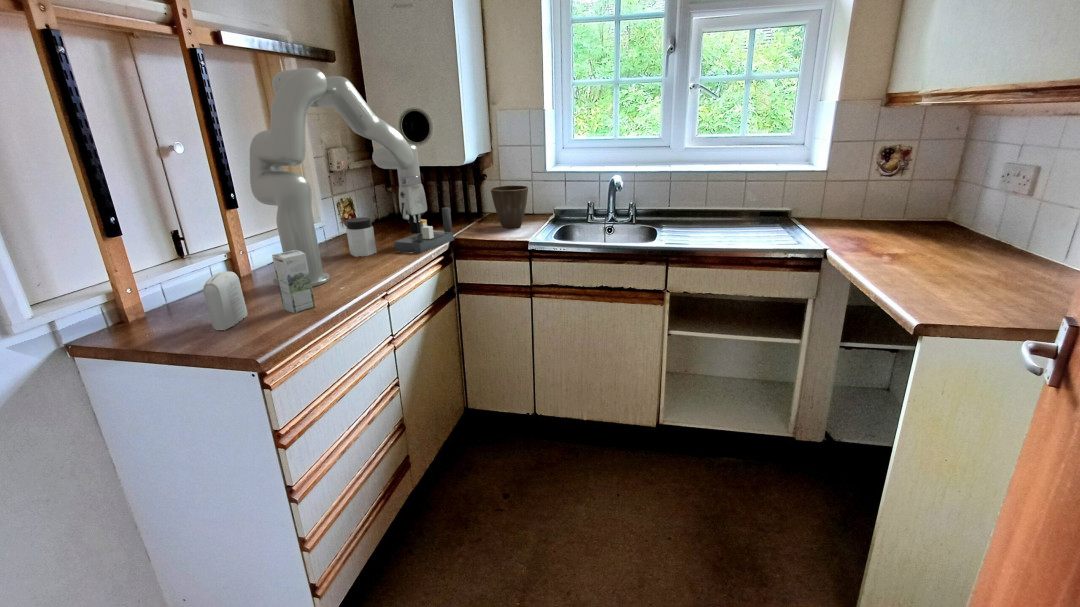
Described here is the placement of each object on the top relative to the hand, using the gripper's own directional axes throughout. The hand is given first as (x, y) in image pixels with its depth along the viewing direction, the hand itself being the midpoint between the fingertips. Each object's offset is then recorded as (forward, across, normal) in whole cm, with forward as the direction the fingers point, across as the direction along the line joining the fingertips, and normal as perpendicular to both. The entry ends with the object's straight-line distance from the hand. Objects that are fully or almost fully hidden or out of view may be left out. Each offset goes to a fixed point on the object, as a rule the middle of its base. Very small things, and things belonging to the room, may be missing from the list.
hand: (415, 233), depth 189 cm
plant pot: (+4, +37, -20) cm, 42 cm away
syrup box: (+5, -63, -12) cm, 64 cm away
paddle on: (+1, +4, 0) cm, 4 cm away
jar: (+5, -15, +12) cm, 20 cm away
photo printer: (+6, -76, -4) cm, 76 cm away
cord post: (+4, +11, -6) cm, 13 cm away
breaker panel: (+5, +1, -3) cm, 6 cm away
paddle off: (+1, -2, -7) cm, 7 cm away
